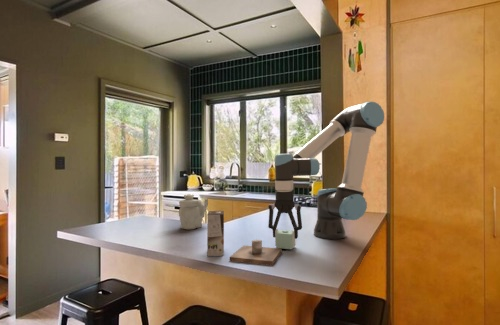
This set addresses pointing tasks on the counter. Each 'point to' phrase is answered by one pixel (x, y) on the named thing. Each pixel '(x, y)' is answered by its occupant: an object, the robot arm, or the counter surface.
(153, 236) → the counter surface
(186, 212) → the teapot
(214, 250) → the coffee box
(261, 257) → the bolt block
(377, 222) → the counter surface
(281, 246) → the pale green cube
